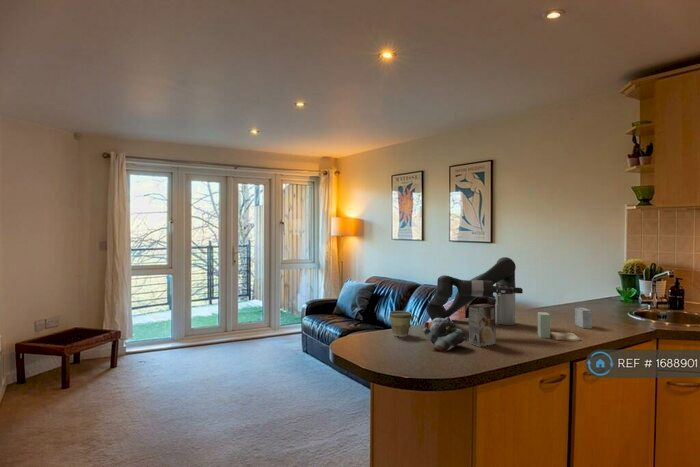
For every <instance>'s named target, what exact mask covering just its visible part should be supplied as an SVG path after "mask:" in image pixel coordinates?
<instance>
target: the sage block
mask: <svg viewBox="0 0 700 467" xmlns="http://www.w3.org/2000/svg"><path fill="white" fill-rule="evenodd" d="M550 332H551V314H550V313H548V312H546V311H545V312H540V311H538V312H537V335H538V337H539V338H542V337H544V339H545V338H546V339H550V338H551V337H550Z"/></svg>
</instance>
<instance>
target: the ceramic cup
mask: <svg viewBox="0 0 700 467" xmlns="http://www.w3.org/2000/svg"><path fill="white" fill-rule="evenodd" d="M414 317H415V318H416V321H414V322H413V323H411V321H412V319H413V318H414ZM418 320H419V317H418V316H417V315H414V314H412V312H411V311H406V310H393V311H389V321H390V325H391V332H392V335H393V336H394V337H397V336H399V338H404V337H408V336H409V331H410V328H411V327H412V326H413V325H414V324H416V323H417V322H418Z"/></svg>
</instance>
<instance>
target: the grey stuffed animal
mask: <svg viewBox="0 0 700 467" xmlns="http://www.w3.org/2000/svg"><path fill="white" fill-rule="evenodd" d="M456 326H457V325H456V324H455V323H454V321H452V320H451V318H450V317H446V318H445V319H444V318H442V317H441V316H437V317H436V318H435V319H433V320H431V321H429V322H428V321H425V322H424V327H423V330H422V332H423V334H424V335H425V338H427V339H428V340H429V341H430V342H431V343H432V344H433V346H434V347H435V349H436V350H437V351H438V350H439V352H443V351H446V352H448V351H450V350H451V349H453V348H455V347H456V346H458V345H460V344H462V343H463V342H464V341H466V340H468V337H467V335H466V333H465V331H463V330H462V329H461V328H457V327H456Z"/></svg>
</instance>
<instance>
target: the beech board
mask: <svg viewBox="0 0 700 467" xmlns="http://www.w3.org/2000/svg"><path fill="white" fill-rule="evenodd" d="M550 338H551V339H552V340H553V339H554V340H556V341H557V340H558V341H573V342H574V341H575V342H576V341H577V342H578V341H579V342H581V341H582V339H581V338H580V337H579V336H577V335H576V334H575V333H573V332H560V331H558V332H557V331H550Z"/></svg>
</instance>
